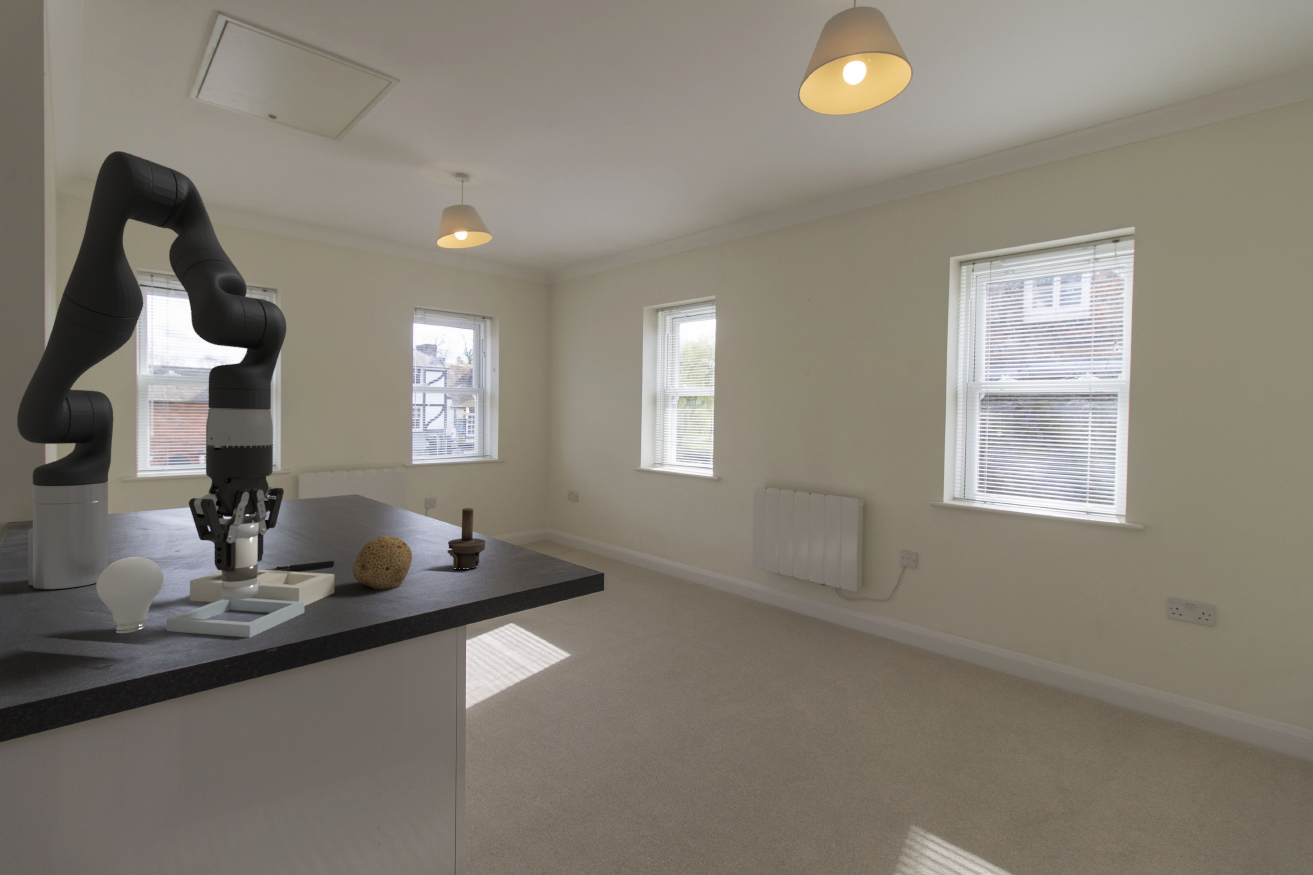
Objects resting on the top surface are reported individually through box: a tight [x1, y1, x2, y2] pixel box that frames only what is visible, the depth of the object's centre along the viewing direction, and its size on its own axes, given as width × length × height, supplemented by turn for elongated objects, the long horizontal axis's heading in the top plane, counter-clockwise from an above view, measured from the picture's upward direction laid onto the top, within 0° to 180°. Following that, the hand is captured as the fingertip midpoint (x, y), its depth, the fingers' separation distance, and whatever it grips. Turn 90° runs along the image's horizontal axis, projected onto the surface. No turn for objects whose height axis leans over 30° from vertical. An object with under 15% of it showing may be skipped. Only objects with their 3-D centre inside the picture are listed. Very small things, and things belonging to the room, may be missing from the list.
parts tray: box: [165, 598, 305, 638], centre depth 82 cm, size 12×10×3 cm
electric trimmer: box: [265, 560, 335, 572], centre depth 108 cm, size 4×16×3 cm, turn 130°
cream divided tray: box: [189, 568, 335, 607], centre depth 93 cm, size 18×8×4 cm, turn 83°
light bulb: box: [95, 556, 165, 634], centre depth 78 cm, size 7×7×11 cm
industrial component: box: [447, 507, 486, 569], centre depth 120 cm, size 9×7×12 cm
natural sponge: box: [352, 535, 413, 590], centre depth 101 cm, size 9×9×10 cm
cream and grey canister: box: [221, 521, 259, 600], centre depth 82 cm, size 4×4×10 cm
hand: (239, 565), depth 82 cm, fingers closed on cream and grey canister, 4 cm apart
